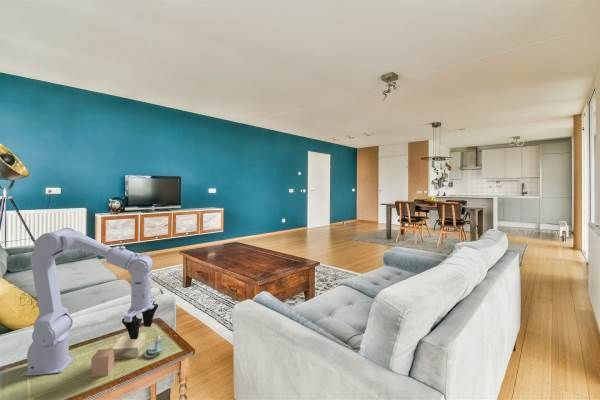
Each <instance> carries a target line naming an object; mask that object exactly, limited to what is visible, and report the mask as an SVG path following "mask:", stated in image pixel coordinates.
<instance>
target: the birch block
mask: <svg viewBox="0 0 600 400" xmlns="http://www.w3.org/2000/svg"><path fill="white" fill-rule="evenodd" d="M145 345H146V334H139V335H138V338H137V339H130V336H129V335H123V336H120V338H118V340H117V341H116V343H115V344H114V346H113V347H112V348H111V349H114V360H120V359H133V358H138V357H139V356H140V355H141V352H142V350H143V349H144V347H145Z"/></svg>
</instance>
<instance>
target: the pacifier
mask: <svg viewBox="0 0 600 400" xmlns="http://www.w3.org/2000/svg"><path fill="white" fill-rule="evenodd" d="M161 339H162V338H161V335H159V334H157V335H156V336H155V341H153V342H152V343H150V345H149V346H148V347H147V348H146V349H145V350H144V352H143V356H144V357H145V358H147V359H151V358H154V357H155V356H158V355H159V354H160V353H162V352H163V351H164V349H163V347H164V343H163V341H161ZM157 354H158V355H157Z"/></svg>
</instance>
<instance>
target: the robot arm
mask: <svg viewBox="0 0 600 400" xmlns="http://www.w3.org/2000/svg"><path fill="white" fill-rule="evenodd" d="M33 244H34V248H33V250H32V252H31V255H30V256H29V257H30V265H31V270H32V277H33V282H34V289H35V295H36V300H37V306H38V316H37V317H36V319H35V321H34V323H33V332H32V333H31V334H32V335H31V339H32V341H33V342H31V344H30V345H29V346H28V350H27V354H26V356H27V357H26V359H27V360H26V362H27V365H26V366H27V372H26V374H25V376H28V377H29V376H38V375H51V374H60V373H62V372H63V371H64V370H66V368H67V367H68V366H69V365H70V364H71V362H72V361H73V360H74V359H75V358H76V356H75V355H70V352H69V350H70V346H69V333H70V331H69V329H70V328H72V327H73V325H74V319H73V317H72V316H71V314H70V313H69V309H68V308H67V307H64V306H63V304H62V303H63V302H62V298H61V297H62V296H61V290H60V284H59V279H58V272H57V265H56V259H57V257H59V256H60V255H61V254H63V252H65V251H70V250H77V249H80V250H82V251H85V252H88V253H91V254H94V255H97V256H100V257H103V258H105V260H106V262H107V264H110V265H113V266H115V267H117V268H119V269H122V270H125V271H127V272H128V274H129V276H131V277H130V278H131V281H130V285H131V286H130V290H131V291H130V292H131V293H130V295H131V297H130V300H131V301H130V302H131V304H130V307H129V309H128V311H127V312H126V314H124V315H123V318H122V319H121V323H122V324H123V325H124V326H125V328H126V331H127V332H128V336H130V339H137V338H138V335H140V326H141V324H142V323H143V326H144V328H150V327H152V324H153V319H154V317H155V314H156V311H157V309H158V308H159V304H158V303H156V302H157V297H156V296H152V270H151V269H152V268H153V266H154V263H155V262H154V259H153V257H152V256H150V255H148V254H145V253H144V254H143V253H142V254H140V252H134V251H131V250H128V249H126V246H125V245H121V246H118V245H117V246H113V247H111V246H109V245H106V244H105V243H102V242H100V241H99V240H97V239H95V238H92V237H90V236H88V235H86V234H84V233H82V232H81V231H80V230H75V229H74V228H71V227H64V228H61V229H59V230H55V231H51V232H46V233H43V234H41V235H40V236H39V237H38V238H36V239H35V240H34V241H33ZM139 314H141V315H142V318H138V317H137V316H138V315H139Z"/></svg>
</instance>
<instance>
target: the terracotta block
mask: <svg viewBox="0 0 600 400" xmlns="http://www.w3.org/2000/svg"><path fill="white" fill-rule="evenodd" d="M114 367H115V359H114V349H112V348H105V349H97V351H96V352H95V353H94V355H93V356H92V357H91V378H97V377H109V375H110V374H111V372H112V370H113V369H114Z"/></svg>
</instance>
